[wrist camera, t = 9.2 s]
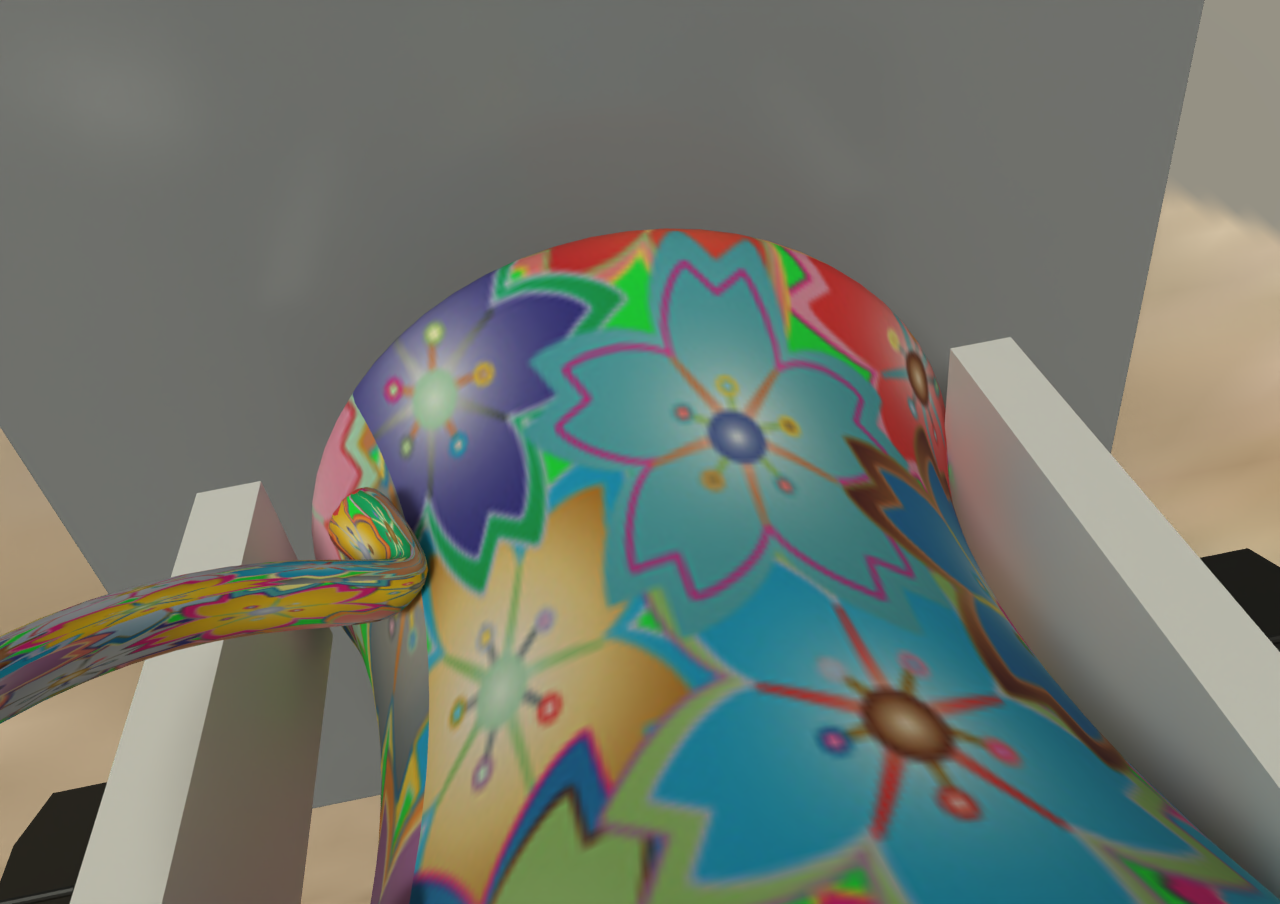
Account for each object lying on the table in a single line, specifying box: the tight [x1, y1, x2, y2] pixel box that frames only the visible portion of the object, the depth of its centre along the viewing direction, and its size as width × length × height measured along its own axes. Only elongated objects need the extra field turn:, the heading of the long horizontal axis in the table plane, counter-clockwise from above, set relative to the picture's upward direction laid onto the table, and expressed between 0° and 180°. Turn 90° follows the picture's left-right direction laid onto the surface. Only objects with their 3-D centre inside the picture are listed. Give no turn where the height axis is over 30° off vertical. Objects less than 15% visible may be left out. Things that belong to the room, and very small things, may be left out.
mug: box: [0, 228, 1280, 904], centre depth 9 cm, size 12×9×11 cm
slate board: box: [0, 0, 1204, 808], centre depth 15 cm, size 16×16×1 cm
